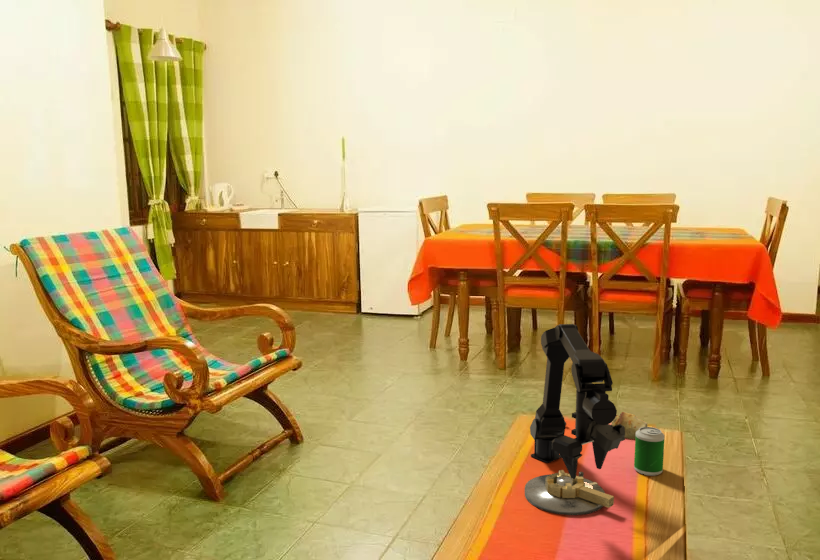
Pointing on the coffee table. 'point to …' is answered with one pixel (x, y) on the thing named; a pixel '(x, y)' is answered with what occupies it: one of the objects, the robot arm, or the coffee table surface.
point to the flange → (559, 505)
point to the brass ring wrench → (576, 490)
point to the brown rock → (629, 424)
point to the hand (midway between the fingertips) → (586, 473)
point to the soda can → (649, 451)
